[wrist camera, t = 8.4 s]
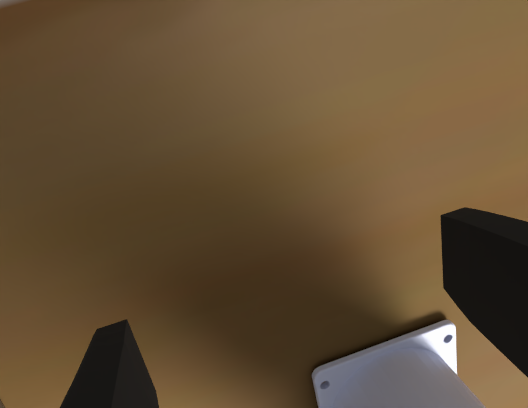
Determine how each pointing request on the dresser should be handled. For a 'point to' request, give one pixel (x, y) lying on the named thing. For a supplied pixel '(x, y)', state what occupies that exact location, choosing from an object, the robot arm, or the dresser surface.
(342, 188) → the dresser surface
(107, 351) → the robot arm
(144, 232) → the dresser surface
